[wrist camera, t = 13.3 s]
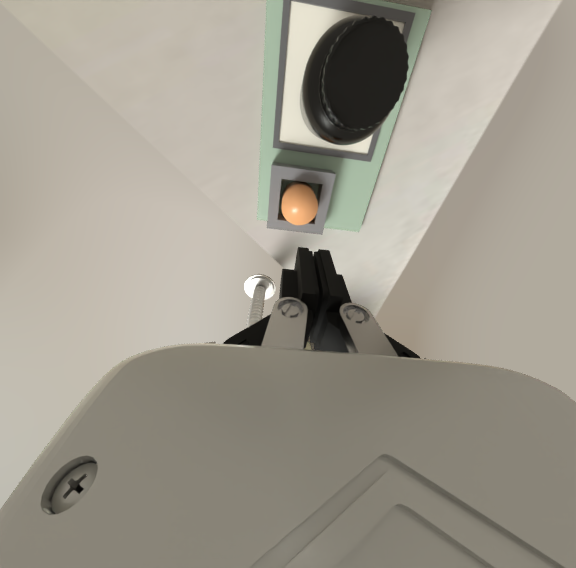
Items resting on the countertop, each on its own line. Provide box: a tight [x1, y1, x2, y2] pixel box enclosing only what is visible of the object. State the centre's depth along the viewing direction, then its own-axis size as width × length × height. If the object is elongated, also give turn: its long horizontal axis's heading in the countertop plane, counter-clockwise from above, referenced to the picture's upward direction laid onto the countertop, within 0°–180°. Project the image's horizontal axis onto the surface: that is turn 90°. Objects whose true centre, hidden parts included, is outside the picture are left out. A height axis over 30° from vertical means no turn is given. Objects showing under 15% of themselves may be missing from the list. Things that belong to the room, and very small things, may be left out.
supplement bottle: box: [300, 15, 409, 145], centre depth 17 cm, size 7×7×12 cm
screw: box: [245, 274, 275, 328], centre depth 31 cm, size 13×5×5 cm
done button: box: [281, 181, 318, 225], centre depth 26 cm, size 4×4×4 cm
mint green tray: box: [257, 0, 432, 235], centre depth 23 cm, size 20×14×4 cm
